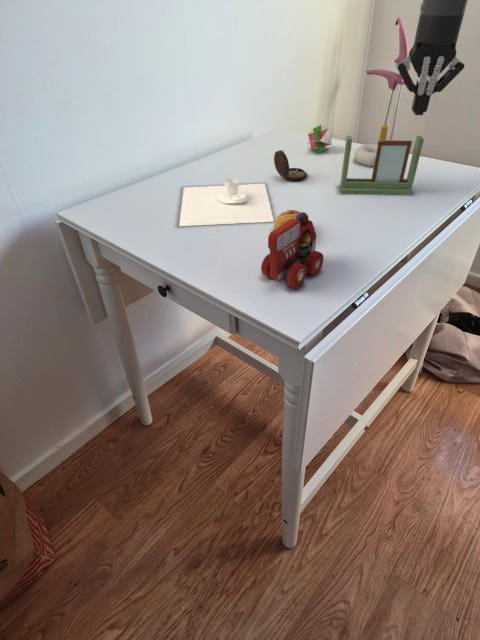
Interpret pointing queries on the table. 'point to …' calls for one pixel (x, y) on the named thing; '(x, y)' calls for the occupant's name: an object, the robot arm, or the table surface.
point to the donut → (366, 154)
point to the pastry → (285, 217)
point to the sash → (390, 159)
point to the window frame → (379, 187)
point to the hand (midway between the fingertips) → (418, 114)
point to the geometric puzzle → (320, 139)
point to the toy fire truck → (292, 252)
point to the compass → (287, 168)
